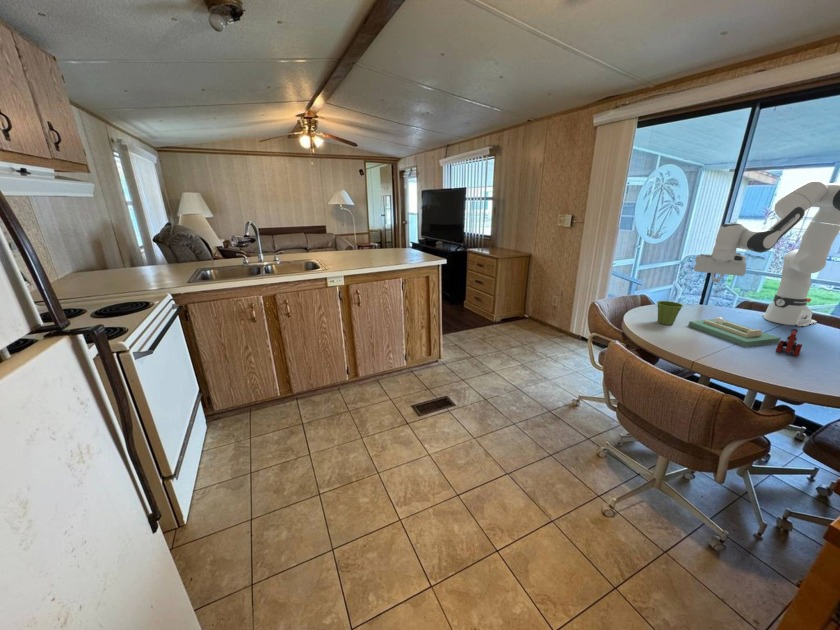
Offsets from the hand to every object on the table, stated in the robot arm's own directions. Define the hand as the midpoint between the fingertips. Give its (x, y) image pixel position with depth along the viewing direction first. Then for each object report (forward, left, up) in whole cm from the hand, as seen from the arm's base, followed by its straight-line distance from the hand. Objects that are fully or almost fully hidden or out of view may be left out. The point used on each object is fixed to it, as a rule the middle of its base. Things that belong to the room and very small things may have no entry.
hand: (715, 281), depth 174 cm
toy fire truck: (-2, +37, -24) cm, 44 cm away
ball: (0, +7, -19) cm, 21 cm away
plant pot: (+18, -6, -24) cm, 31 cm away
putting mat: (0, +14, -24) cm, 28 cm away
